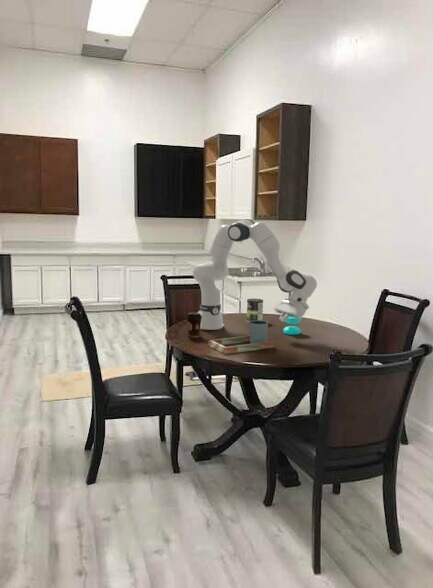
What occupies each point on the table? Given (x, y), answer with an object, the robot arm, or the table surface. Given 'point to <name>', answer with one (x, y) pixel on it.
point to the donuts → (291, 329)
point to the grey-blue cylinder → (258, 331)
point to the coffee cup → (193, 324)
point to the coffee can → (254, 309)
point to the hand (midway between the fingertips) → (281, 320)
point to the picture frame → (219, 344)
